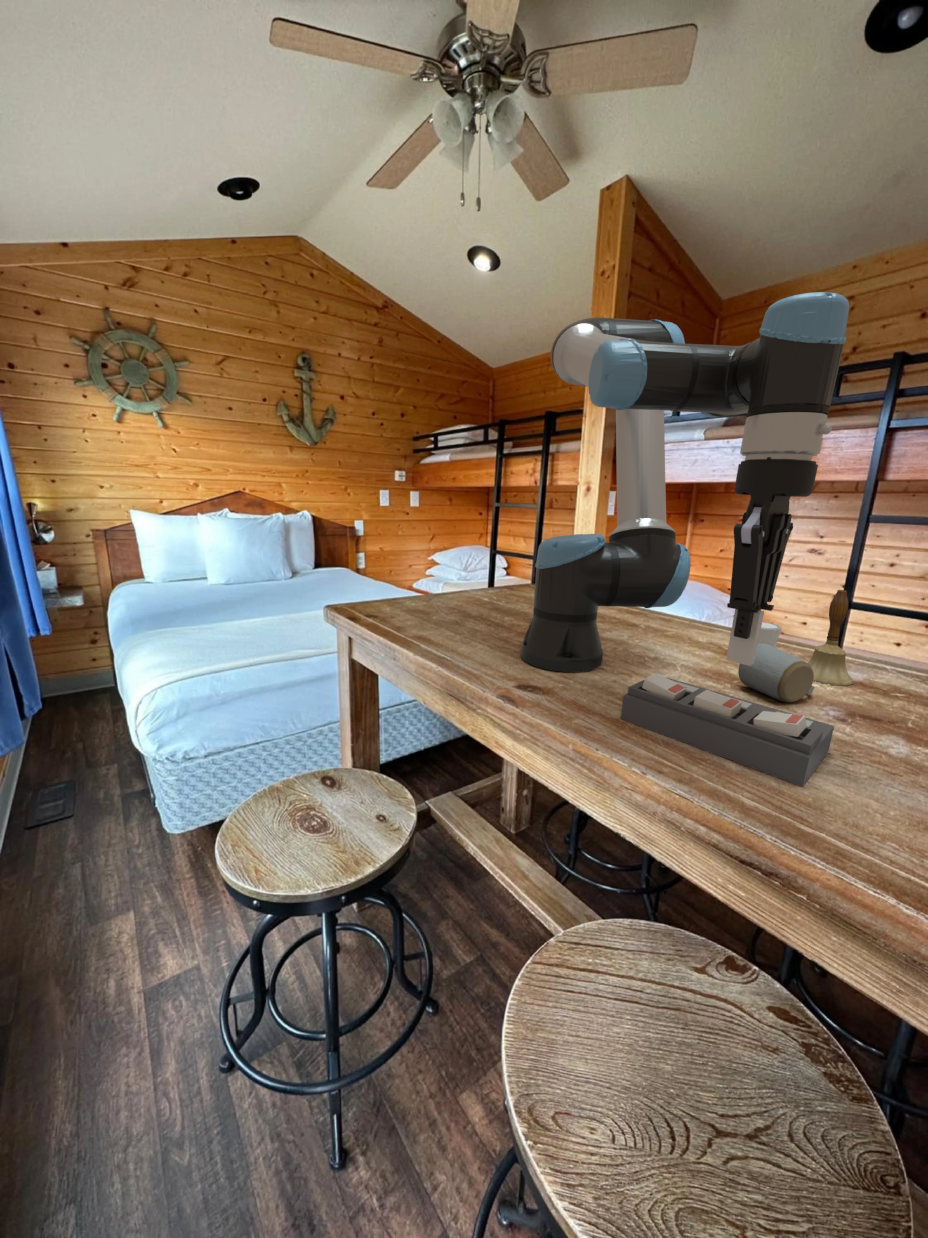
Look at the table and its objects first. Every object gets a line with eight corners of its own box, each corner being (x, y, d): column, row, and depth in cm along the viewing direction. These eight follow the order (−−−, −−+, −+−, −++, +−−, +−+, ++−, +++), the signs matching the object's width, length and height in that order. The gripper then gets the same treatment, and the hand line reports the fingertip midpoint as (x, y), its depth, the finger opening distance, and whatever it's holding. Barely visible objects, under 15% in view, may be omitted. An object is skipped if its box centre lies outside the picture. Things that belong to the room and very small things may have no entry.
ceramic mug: (777, 707, 76) (788, 659, 74) (733, 687, 83) (742, 643, 81) (826, 701, 79) (838, 655, 77) (780, 683, 86) (789, 640, 85)
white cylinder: (728, 652, 102) (733, 619, 101) (759, 652, 103) (765, 620, 101) (750, 664, 96) (756, 628, 94) (783, 663, 96) (790, 629, 95)
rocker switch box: (620, 718, 70) (624, 688, 69) (659, 697, 78) (663, 669, 77) (802, 787, 54) (811, 748, 53) (828, 751, 62) (836, 717, 61)
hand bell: (834, 688, 84) (855, 596, 80) (786, 672, 92) (804, 587, 88) (863, 682, 88) (885, 593, 84) (815, 667, 95) (833, 585, 91)
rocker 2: (754, 730, 59) (753, 718, 59) (763, 722, 61) (763, 710, 61) (797, 736, 56) (797, 723, 55) (806, 727, 58) (805, 714, 58)
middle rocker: (693, 706, 64) (695, 695, 63) (704, 699, 66) (706, 689, 66) (729, 720, 61) (731, 708, 60) (739, 712, 63) (742, 701, 63)
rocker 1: (641, 687, 69) (645, 678, 68) (654, 681, 71) (657, 672, 70) (671, 703, 66) (675, 694, 65) (683, 696, 68) (686, 687, 68)
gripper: (801, 454, 48) (755, 683, 54) (832, 462, 56) (790, 658, 63) (719, 455, 53) (686, 664, 59) (759, 462, 62) (727, 643, 68)
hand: (739, 661), depth 61 cm, fingers closed
